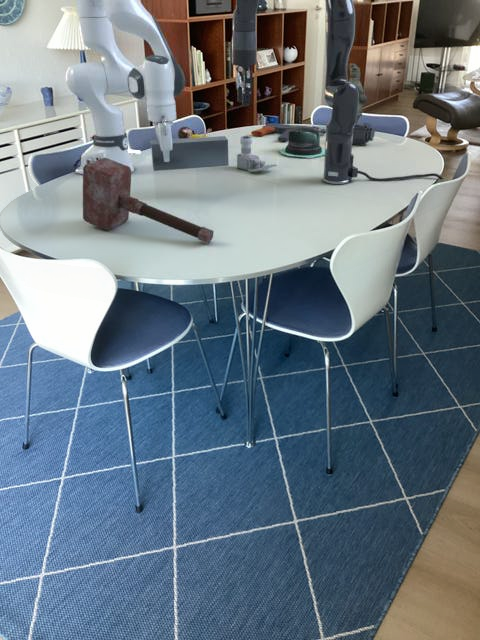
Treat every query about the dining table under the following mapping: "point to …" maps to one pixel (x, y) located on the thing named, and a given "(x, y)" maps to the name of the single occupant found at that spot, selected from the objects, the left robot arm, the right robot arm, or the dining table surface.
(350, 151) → the right robot arm
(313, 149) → the green hat
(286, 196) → the dining table surface
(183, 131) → the figurine
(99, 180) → the sledgehammer
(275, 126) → the submachine gun
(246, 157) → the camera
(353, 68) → the statue
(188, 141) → the bar
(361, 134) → the toy
